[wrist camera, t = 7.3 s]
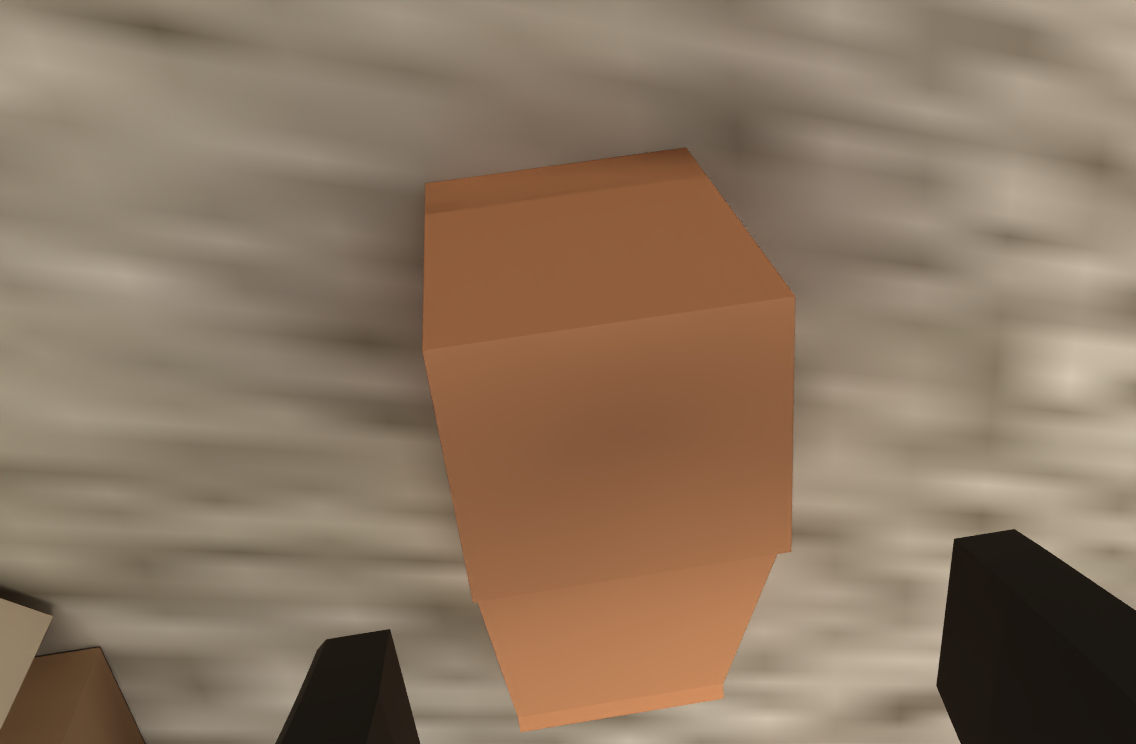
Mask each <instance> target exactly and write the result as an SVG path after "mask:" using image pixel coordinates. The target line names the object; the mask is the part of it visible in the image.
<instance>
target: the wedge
mask: <svg viewBox="0 0 1136 744" xmlns="http://www.w3.org/2000/svg"><path fill="white" fill-rule="evenodd" d="M794 339H795V295H794V294H793V293H792V291H791V290H790V289H789V287H788V286H787V285H786V283H785V282H784V280H783V279H782V278H781V276H780V275H779V274H778V272H777V271H776V270H775V268H774V267H773V265H772V264H771V263H770V261H769V260H768V259H767V257H766V256H765V255H764V253H763V252H762V250H761V249H760V248H759V246H758V245H757V244H756V242H755V241H754V240H753V238H752V237H751V235H750V234H749V233H748V231H747V230H746V229H745V227H744V226H743V225H742V223H741V222H740V220H739V219H738V218H737V216H736V215H735V214H734V212H733V211H732V210H731V208H730V207H729V205H728V204H727V203H726V201H725V200H724V199H723V197H722V196H721V195H720V193H719V192H718V190H717V189H716V188H715V186H714V185H713V184H712V182H711V181H710V180H709V178H708V177H707V175H706V174H705V173H704V171H703V170H702V169H701V167H700V166H699V165H698V163H697V162H696V160H695V159H694V158H693V156H692V155H691V154H690V152H689V151H688V150H687V148H679V149H672V150H664V151H657V152H650V153H643V154H635V155H628V156H621V157H614V158H606V159H599V160H592V161H584V162H577V163H570V164H563V165H555V166H548V167H541V168H534V169H526V170H519V171H512V172H505V173H497V174H490V175H483V176H475V177H468V178H461V179H454V180H446V181H439V182H432V183H425V237H424V291H423V345H422V351H423V356H424V361H425V366H426V371H427V376H428V381H429V386H430V391H431V396H432V401H433V406H434V411H435V416H436V421H437V426H438V431H439V436H440V441H441V446H442V451H443V456H444V461H445V466H446V471H447V475H448V480H449V485H450V490H451V495H452V500H453V505H454V510H455V515H456V520H457V525H458V530H459V535H460V540H461V545H462V550H463V555H464V560H465V565H466V570H467V575H468V580H469V585H470V590H471V595H472V600H473V602H478V604H479V607H480V610H481V613H482V616H483V619H484V622H485V624H486V627H487V630H488V633H489V636H490V639H491V642H492V644H493V647H494V650H495V653H496V656H497V659H498V662H499V665H500V667H501V670H502V673H503V676H504V679H505V682H506V685H507V687H508V690H509V693H510V696H511V699H512V702H513V705H514V707H515V710H516V713H517V716H518V720H519V725H520V731H521V732H524V731H530V730H536V729H542V728H548V727H554V726H560V725H566V724H572V723H578V722H584V721H591V720H597V719H603V718H609V717H615V716H621V715H627V714H633V713H639V712H645V711H651V710H657V709H663V708H669V707H675V706H681V705H687V704H693V703H699V702H705V701H711V700H717V699H723V698H724V694H723V683H724V680H725V678H726V676H727V673H728V671H729V668H730V666H731V664H732V661H733V659H734V656H735V654H736V652H737V649H738V647H739V645H740V642H741V640H742V637H743V635H744V633H745V630H746V628H747V625H748V623H749V621H750V618H751V616H752V613H753V611H754V609H755V606H756V604H757V601H758V599H759V597H760V594H761V592H762V589H763V587H764V585H765V582H766V580H767V577H768V575H769V573H770V570H771V568H772V566H773V563H774V561H775V558H776V556H777V554H780V553H786V552H791V541H792V473H793V406H794Z"/></svg>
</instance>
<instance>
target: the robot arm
mask: <svg viewBox="0 0 1136 744" xmlns="http://www.w3.org/2000/svg"><path fill="white" fill-rule="evenodd" d="M936 686H937V688H938V691H939V693H940V696H941V698H942V700H943V703H944V705H945V707H946V710H947V712H948V715H949V717H950V719H951V722H952V724H953V727H954V729H955V731H956V734H957V736H958V738H959V741H960V743H961V744H1136V610H1134V609H1133V608H1131V607H1130V606H1128V605H1127V604H1125V603H1124V602H1122V601H1121V600H1119V599H1118V598H1116V597H1115V596H1113V595H1112V594H1110V593H1109V592H1107V591H1106V590H1105V589H1103V588H1102V587H1100V586H1099V585H1097V584H1096V583H1094V582H1093V581H1091V580H1090V579H1088V578H1087V577H1085V576H1084V575H1083V574H1081V573H1080V572H1078V571H1077V570H1075V569H1074V568H1072V567H1071V566H1069V565H1068V564H1066V563H1065V562H1063V561H1062V560H1060V559H1059V558H1057V557H1056V556H1055V555H1053V554H1052V553H1050V552H1049V551H1047V550H1046V549H1044V548H1043V547H1041V546H1040V545H1038V544H1037V543H1035V542H1033V541H1032V540H1030V539H1029V538H1027V537H1026V536H1024V535H1023V534H1021V533H1020V532H1018V531H1016V530H1015V529H1013V530H1006V531H1000V532H994V533H988V534H981V535H975V536H969V537H963V538H956V539H954V544H953V552H952V561H951V569H950V577H949V585H948V594H947V602H946V610H945V619H944V627H943V635H942V644H941V652H940V660H939V669H938V677H937V685H936ZM275 744H420V741H419V738H418V734H417V730H416V726H415V722H414V718H413V715H412V711H411V707H410V703H409V699H408V696H407V692H406V688H405V684H404V680H403V677H402V673H401V669H400V665H399V661H398V657H397V654H396V650H395V646H394V642H393V638H392V635H391V631H390V629H388V630H382V631H376V632H369V633H363V634H357V635H351V636H344V637H338V638H332V639H326V640H325V642H324V643H323V644H322V645H321V646H320V647H319V649H318V650H317V652H316V654H315V656H314V659H313V661H312V664H311V666H310V669H309V671H308V673H307V676H306V678H305V680H304V682H303V685H302V687H301V689H300V692H299V694H298V696H297V698H296V701H295V703H294V705H293V707H292V709H291V712H290V714H289V716H288V718H287V720H286V722H285V724H284V727H283V729H282V731H281V733H280V735H279V737H278V739H277V741H276V743H275Z"/></svg>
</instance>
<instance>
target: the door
mask: <svg viewBox="0 0 1136 744" xmlns="http://www.w3.org/2000/svg"><path fill="white" fill-rule="evenodd" d="M52 618H53V616H51V615H48V614H45V613H42V612H39V611H36V610H33V609H30V608H27V607H24V606H22V605H19V604H16V603H13V602H10V601H7V600H4V599H1V598H0V729H1V727H2V725H3V723H4V721H5V719H6V717H7V714H8V712H9V710H10V708H11V706H12V704H13V702H14V699H15V697H16V695H17V693H18V691H19V689H20V687H21V684H22V682H23V680H24V678H25V676H26V674H27V671H28V669H29V667H30V665H31V663H32V661H33V659H34V656H35V654H36V652H37V650H38V648H39V646H40V644H41V641H42V639H43V637H44V635H45V633H46V631H47V629H48V626H49V624H50V622H51V620H52Z"/></svg>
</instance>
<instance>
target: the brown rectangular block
mask: <svg viewBox="0 0 1136 744" xmlns="http://www.w3.org/2000/svg"><path fill="white" fill-rule="evenodd" d="M0 744H145V743H144V741H143V739H142V736H141V734H140V732H139V730H138V728H137V726H136V724H135V721H134V719H133V717H132V715H131V713H130V711H129V709H128V707H127V704H126V702H125V700H124V698H123V696H122V694H121V692H120V690H119V687H118V685H117V683H116V681H115V679H114V677H113V675H112V672H111V670H110V668H109V666H108V664H107V662H106V660H105V658H104V655H103V653H102V651H101V649H100V647H98V648H92V649H86V650H80V651H73V652H67V653H61V654H54V655H48V656H42V657H35V658H34V659H33V661H32V663H31V665H30V667H29V669H28V671H27V674H26V676H25V678H24V680H23V682H22V684H21V687H20V689H19V691H18V693H17V695H16V697H15V699H14V702H13V704H12V706H11V708H10V710H9V712H8V714H7V717H6V719H5V721H4V723H3V725H2V727H1V729H0Z"/></svg>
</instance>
